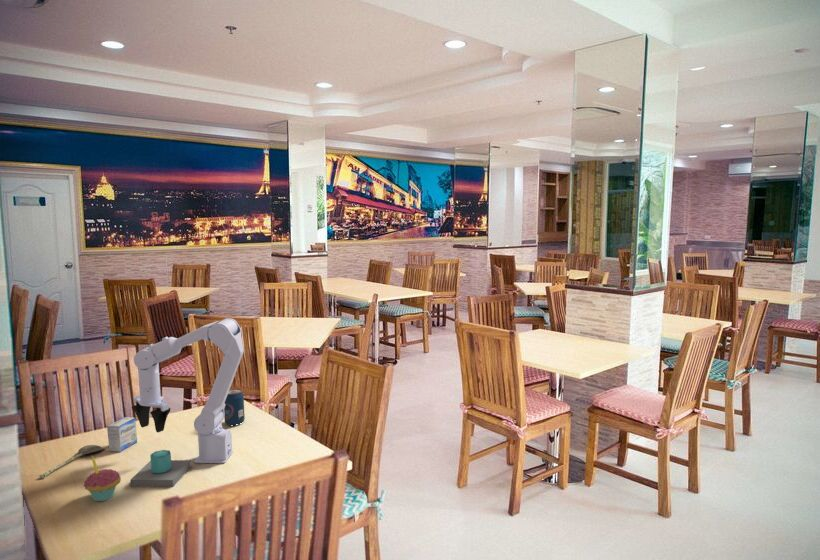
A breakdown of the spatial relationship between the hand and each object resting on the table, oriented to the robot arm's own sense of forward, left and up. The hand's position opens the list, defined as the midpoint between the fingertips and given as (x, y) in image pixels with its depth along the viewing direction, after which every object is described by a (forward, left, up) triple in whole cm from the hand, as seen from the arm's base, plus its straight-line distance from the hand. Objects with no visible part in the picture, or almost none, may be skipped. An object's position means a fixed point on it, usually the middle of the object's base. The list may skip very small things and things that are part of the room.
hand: (152, 428), depth 169 cm
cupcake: (+2, +23, -10) cm, 25 cm away
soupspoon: (+24, +3, -10) cm, 26 cm away
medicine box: (+14, -8, -10) cm, 19 cm away
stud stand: (-8, +12, -9) cm, 17 cm away
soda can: (-16, -28, -10) cm, 34 cm away
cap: (-8, +12, -7) cm, 16 cm away
